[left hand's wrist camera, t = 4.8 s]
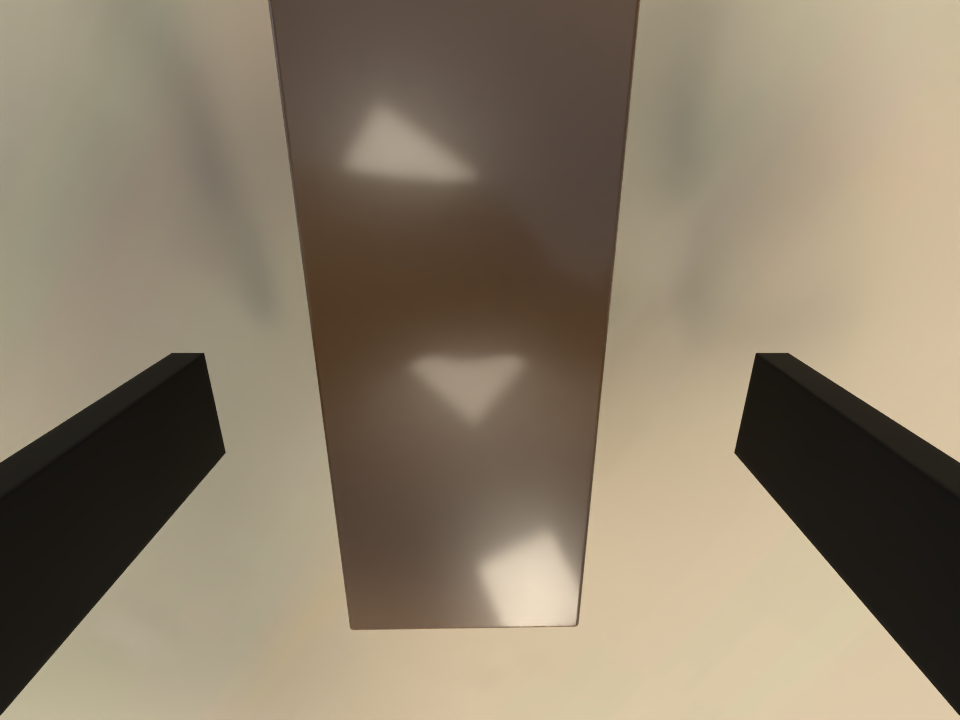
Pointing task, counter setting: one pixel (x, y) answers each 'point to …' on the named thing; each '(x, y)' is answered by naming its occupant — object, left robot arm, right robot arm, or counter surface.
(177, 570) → the counter surface
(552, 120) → the beam
